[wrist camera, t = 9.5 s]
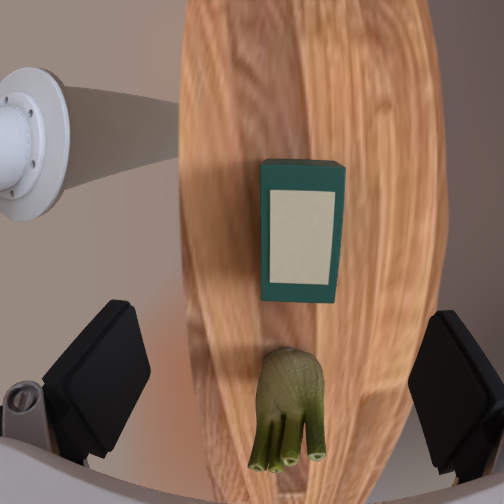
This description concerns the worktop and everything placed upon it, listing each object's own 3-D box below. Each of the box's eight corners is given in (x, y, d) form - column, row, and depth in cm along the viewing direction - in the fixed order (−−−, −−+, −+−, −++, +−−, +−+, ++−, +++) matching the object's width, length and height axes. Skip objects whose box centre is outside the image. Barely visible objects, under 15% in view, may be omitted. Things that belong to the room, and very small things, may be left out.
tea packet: (266, 158, 21) (259, 164, 17) (335, 160, 21) (346, 167, 17) (266, 272, 25) (260, 301, 21) (328, 274, 24) (334, 304, 20)
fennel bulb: (323, 341, 27) (330, 453, 16) (318, 379, 28) (320, 482, 17) (259, 340, 27) (238, 450, 16) (261, 377, 29) (243, 479, 18)
